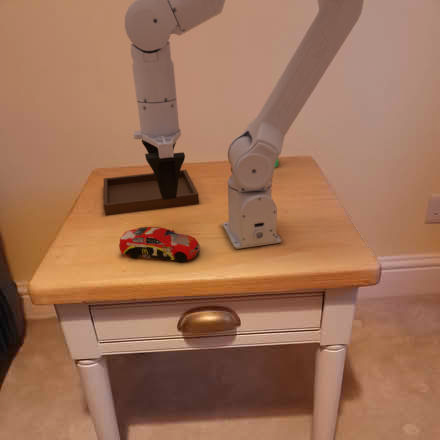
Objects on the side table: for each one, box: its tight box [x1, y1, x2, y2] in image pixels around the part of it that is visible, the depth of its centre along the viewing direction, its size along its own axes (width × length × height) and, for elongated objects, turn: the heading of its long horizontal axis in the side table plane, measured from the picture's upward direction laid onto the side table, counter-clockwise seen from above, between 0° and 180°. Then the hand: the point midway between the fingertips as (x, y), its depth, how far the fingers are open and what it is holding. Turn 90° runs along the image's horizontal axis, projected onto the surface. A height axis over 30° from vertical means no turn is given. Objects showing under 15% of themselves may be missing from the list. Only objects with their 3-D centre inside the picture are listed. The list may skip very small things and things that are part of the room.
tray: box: [103, 169, 200, 216], centre depth 90 cm, size 16×19×2 cm
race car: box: [118, 226, 201, 263], centre depth 68 cm, size 13×5×4 cm, turn 76°
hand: (166, 189), depth 69 cm, fingers open, 7 cm apart
